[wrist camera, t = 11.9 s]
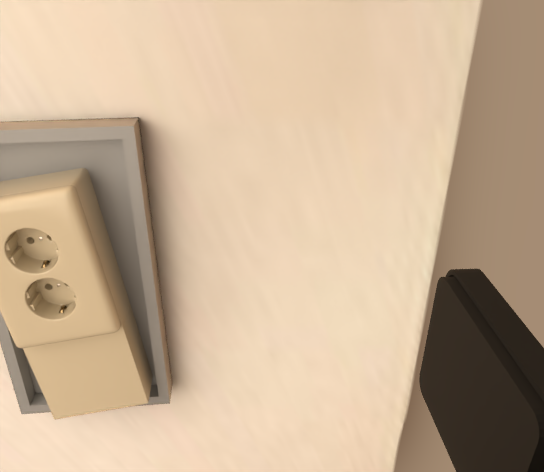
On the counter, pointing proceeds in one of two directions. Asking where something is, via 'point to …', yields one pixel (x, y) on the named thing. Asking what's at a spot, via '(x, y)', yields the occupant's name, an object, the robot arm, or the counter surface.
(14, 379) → the grey rectangular tray
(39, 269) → the electrical outlet
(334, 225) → the counter surface
